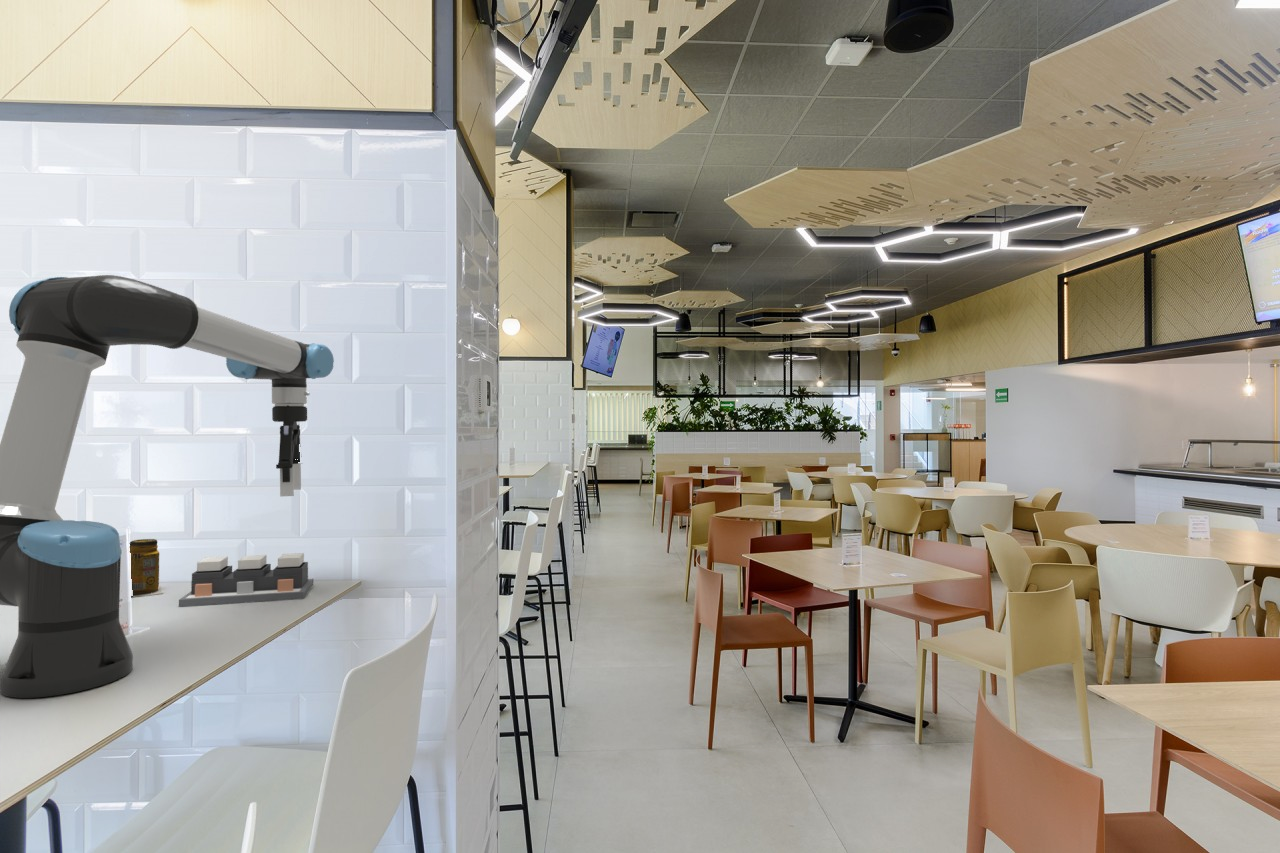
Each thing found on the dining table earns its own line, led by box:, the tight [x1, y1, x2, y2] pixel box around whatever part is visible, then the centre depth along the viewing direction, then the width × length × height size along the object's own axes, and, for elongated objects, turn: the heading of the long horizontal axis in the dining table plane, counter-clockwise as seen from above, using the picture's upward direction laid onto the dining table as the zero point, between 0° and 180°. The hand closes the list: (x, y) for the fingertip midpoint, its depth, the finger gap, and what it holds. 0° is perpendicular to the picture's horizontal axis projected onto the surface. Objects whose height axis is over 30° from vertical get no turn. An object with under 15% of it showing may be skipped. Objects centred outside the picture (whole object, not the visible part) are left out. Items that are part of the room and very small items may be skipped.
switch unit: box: [178, 561, 314, 608], centre depth 153 cm, size 24×14×6 cm, turn 108°
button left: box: [196, 556, 229, 571], centre depth 152 cm, size 4×6×2 cm
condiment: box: [129, 538, 164, 598], centre depth 155 cm, size 7×8×12 cm
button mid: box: [237, 554, 267, 569], centre depth 154 cm, size 4×6×2 cm
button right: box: [277, 552, 305, 567], centre depth 157 cm, size 4×6×2 cm
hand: (291, 492), depth 163 cm, fingers open, 13 cm apart
